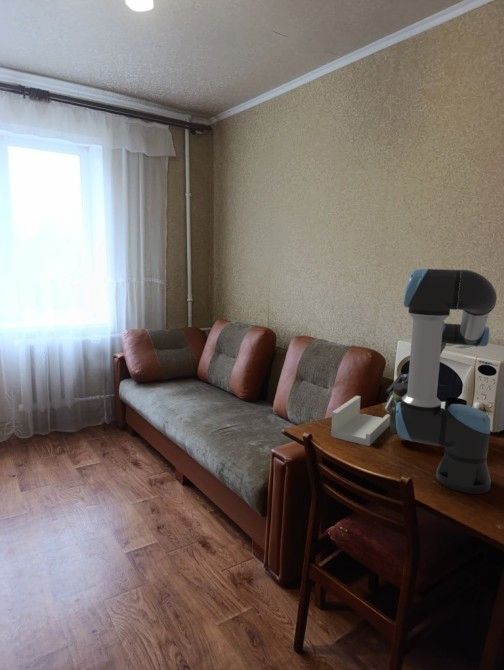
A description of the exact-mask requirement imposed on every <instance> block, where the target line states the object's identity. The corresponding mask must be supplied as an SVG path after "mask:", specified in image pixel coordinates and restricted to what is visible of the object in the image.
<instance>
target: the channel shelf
mask: <svg viewBox="0 0 504 670" xmlns="http://www.w3.org/2000/svg"><path fill="white" fill-rule="evenodd" d="M361 397H362V396H360V395H354V397H352V398H351V399H349V400H347V401H346V402H345V403H343V404H342V405H340V406H339V407H337V408H336V409H334V410H333V411H332V412H331V428H330V429H331V431H330V437H331V438H334V439H338V440H343V441H347V442H350V443H354V444H357V445H363V446H367V447H370V446H371V445H372V444H373V443H374V442H375V440H377V439H378V438H379V437H380V436H381V434H382V433H383V432H385V431H386V430H387V429H388V428H389V427H390V423H391V414H388V413H387V414H385V415H384V416H383V417H381V416H380V417H379V416H376V415H375V416H374V415H371V414H365V413H361V411H360V410H361Z"/></svg>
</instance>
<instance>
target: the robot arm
mask: <svg viewBox="0 0 504 670" xmlns="http://www.w3.org/2000/svg"><path fill="white" fill-rule="evenodd" d="M497 298H498V297H497V291H496V289H495V287H494V285H493V284H492V283H491V281H489V280H488V278H486V277H485V276H484V275H482V274H480V273H478V272H476V271H474V270H468V269H440V268H439V269H438V268H435V269H434V268H433V269H432V268H424V269H423V268H421V269H418V268H417V269H415V270H413V271H412V272H410V274H409V278H408V280H407V283H406V288H405V292H404V298H403V299H404V300H403V306H404V307H405V308H408V315H409V316H410V317H411V318H412V329H411V331H412V332H411V343H410V344H411V345H410V356H409V366H408V367H409V368H408V373H405V374H404V373H403V372H399V374H398V376H397V377H396V379H395V380H394V381H393V382H392V384H391V385H389V387H388V388H387V389H386V393H387V394H388V397H387V399H386V405H385V407H384V409H385V411H386V413H387V414H388V413H390V412H391V411H392V402H393V387H394V385H395V384H397V383H408V391H407V394H406V395H404V396H403V397H402V402H398V403H397V405H396V429H397V433H398V437H399V438H400V439H402V440H406V441H410V442H413V443H415V442H416V443H421V444H426V445H433V446H438V447H444V453H443V455H442V457H441V460H440V462H439V464H438V466H437V468H436V474H435V478H436V480H437V481H438V482H439V483H440V484H441V485H443V486H445V487H447V488H448V489H451V490H454V491H457V492H460V493H465V494H473V495H480V494H484V493H487V492H489V491H490V490H491V485H492V480H491V479H492V478H491V475H490V470H489V467H488V464H487V461H488V459H487V458H488V452H489V451H488V450H489V441H490V434H491V431H492V430H491V417H490V416H489V415H488V413H486V412H484V411H482V410H481V409H478V408H477V407H473V406H470V405H467V406H466V405H461V404H451V405H450V406H449V407H448V409H444V407H442V402H441V401H442V400H440V399H439V398H438V397H437V395H438V386H439V385H438V384H439V373H440V363H441V362H440V361H441V355H442V354H443V353H442V352H443V351H444V350H445V348H446V344H448V345H449V344H450V345H460V346H467V347H468V346H469V347H471V346H472V347H476V348H477V347H487V346H488V344H489V339H490V338H489V337H490V327H488V326H486V324H487V322H488V318H489V313H491V312H492V311H493V310H494V309H495V306H496V303H497ZM451 310H455V311H456V310H459V311H462V313H461V321H460V323H459V324H458V323H448V322H447V323H445V320H446V319H447V318H448V317H450V315H451V314H450V312H451Z"/></svg>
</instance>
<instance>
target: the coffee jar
mask: <svg viewBox="0 0 504 670" xmlns="http://www.w3.org/2000/svg"><path fill="white" fill-rule="evenodd" d="M407 391H408V382H407V383H403V382H402V383H397V384H395V385H394V387H393V402H392V408H391V414H390V425H389V429H390V430H391V432H392V433H393V434H394V435H398V433H397V429H396V405H397V403H398V402H402V397H403V396H404V395H406V394H407ZM398 436H399V435H398Z"/></svg>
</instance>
